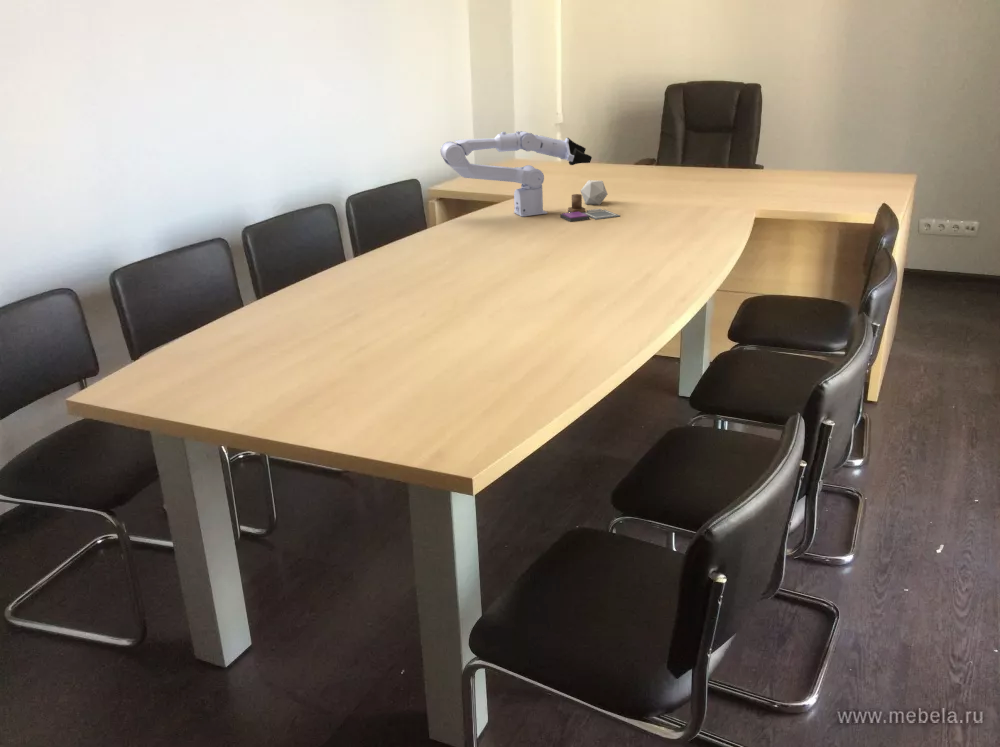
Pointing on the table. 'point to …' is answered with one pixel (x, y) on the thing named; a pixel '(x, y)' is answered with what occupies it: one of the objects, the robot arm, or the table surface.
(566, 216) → the ink pad
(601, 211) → the grey framed plate
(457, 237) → the table surface
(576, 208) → the stamp
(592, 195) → the die
